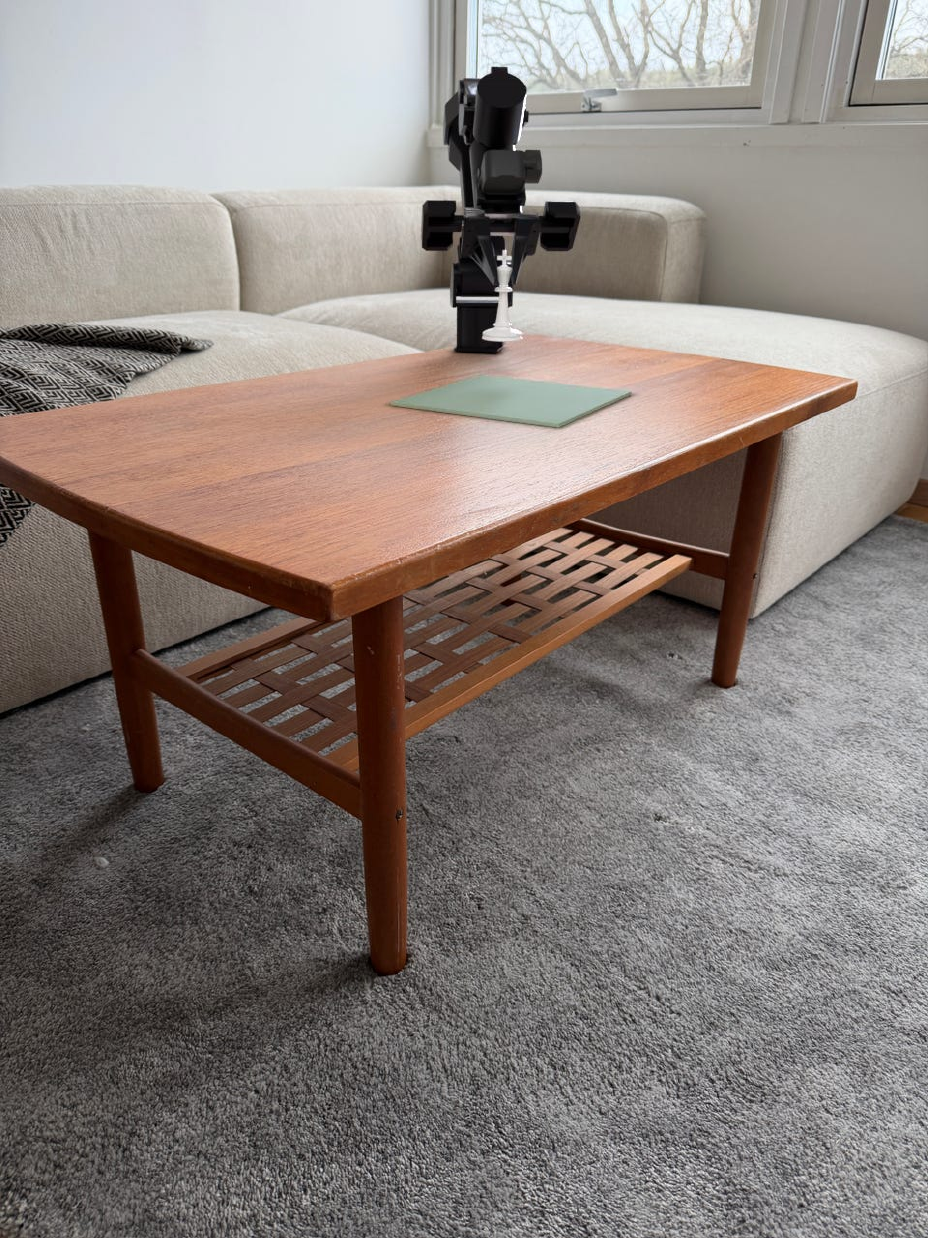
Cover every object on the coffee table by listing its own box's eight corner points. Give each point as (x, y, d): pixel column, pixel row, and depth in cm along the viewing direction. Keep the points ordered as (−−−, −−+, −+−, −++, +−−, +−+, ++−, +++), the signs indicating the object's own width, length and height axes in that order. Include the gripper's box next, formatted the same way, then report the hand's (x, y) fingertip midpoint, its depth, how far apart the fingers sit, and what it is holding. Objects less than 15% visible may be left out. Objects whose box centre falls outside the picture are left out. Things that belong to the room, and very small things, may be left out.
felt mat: (390, 405, 99) (390, 401, 99) (480, 377, 115) (480, 374, 114) (558, 427, 90) (558, 423, 90) (631, 394, 106) (631, 391, 105)
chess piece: (524, 341, 109) (527, 251, 105) (483, 341, 109) (485, 251, 104) (520, 335, 113) (523, 249, 109) (480, 335, 113) (482, 248, 109)
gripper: (421, 122, 104) (428, 231, 99) (582, 124, 106) (597, 232, 100) (418, 197, 114) (424, 300, 109) (564, 199, 116) (578, 299, 111)
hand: (505, 282), depth 107 cm, fingers closed on chess piece
